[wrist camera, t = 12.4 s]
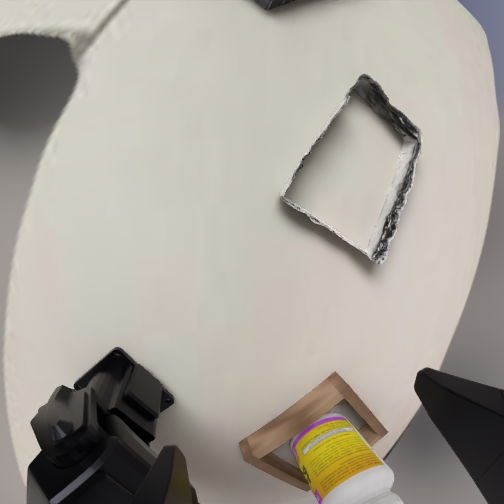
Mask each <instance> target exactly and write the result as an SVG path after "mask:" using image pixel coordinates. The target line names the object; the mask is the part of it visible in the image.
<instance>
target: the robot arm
mask: <svg viewBox="0 0 504 504" xmlns="http://www.w3.org/2000/svg"><path fill="white" fill-rule="evenodd" d="M116 352H118V353H119V354H120V356H118V355H116ZM78 385H79V386H80V387H81V388H80V387H79V386H78ZM74 388H75V389H71V388H68V387H66V386H63V385H62V386H59V387H57V388H56V389H55V391H54V392H53V394H52V396H51V397H50V399H49V401H48V403H47V404H45V405H44V406H42V407H40V408H39V410H38V413H37V414H36V416H35V417H34V418H33V419H32V420H31V422H30V423H31V426H32V429H33V431H34V434H35V436H36V438H37V441H38V443H39V445H40V448H41V450H42V451H41V452H40V453H39V454H38V455H37V456H36V458H35V459H34V460H33V461H32V462H31V463H30V465H29V466H28V474H27V504H200V503H198V499H197V495H196V491H195V489H194V487H193V486H192V485H191V483H190V482H189V478H188V472H187V465H186V460H185V457H184V455H183V454H182V452H181V451H180V450H179V448H178V447H177V446H176V445H166V446H164V447H163V449H162V450H161V452H160V454H159V456H158V455H157V454H156V453H155V452H154V451H153V450H151V449H150V442H151V441H153V440H154V439H155V433H156V422H157V418H159V413H161V412H162V411H164V410H165V409H166V408H168V407H169V406H171V405H172V404H173V403H174V397H173V395H171V394H170V393H169V392H168V391H167V390H166V389H164V388H163V387H162V384H161V383H160V382H159V381H158V380H156V379H155V378H154V377H153V376H152V375H151V374H150V373H149V372H148V371H147V370H145V369H144V368H143V367H142V366H141V365H140V364H137V363H136V362H135V361H134V360H133V359H132V358H131V357H130V356H129V355H128V354H127V353H126V352H125V351H124V350H123V349H121V348H119V347H115V348H114V349H112V350H111V351H110V352H109V353H108V354H107V355H105V356H104V357H103V358H102V359H101V360H100V361H99V362H97V363H96V364H95V365H94V366H93V367H92V368H91V369H89V370H88V371H87V372H86V373H85V374H84V375H83V376H81V377H80V378H79V379H78V380H77V381H76V382H75V384H74ZM414 389H415V392H416V394H417V395H418V397H419V399H420V401H421V402H422V404H423V406H424V407H425V410H426V411H427V413H428V415H429V417H430V418H431V420H432V421H433V423H434V424H435V425H436V427H437V428H438V430H439V431H440V432H441V434H442V435H443V437H444V438H445V439H446V441H447V442H448V444H449V445H450V447H451V448H452V449H453V451H454V452H455V454H456V455H457V457H458V458H459V459H460V461H461V462H462V464H463V465H464V467H465V468H466V470H467V471H468V473H469V474H470V476H471V477H472V479H473V480H474V482H475V484H476V485H477V487H478V488H479V490H480V491H481V493H482V495H483V496H484V498H485V499H486V501H487V503H488V504H504V390H502V389H500V390H499V389H498V388H495V387H491V386H488V385H484V384H481V383H477V382H474V381H470V380H467V379H463V378H460V377H457V376H453V375H450V374H447V373H444V372H441V371H437V370H434V369H431V368H427V367H426V368H424V369H422V370H420V371H418V373H417V376H416V380H415V384H414ZM166 399H170V400H166Z"/></svg>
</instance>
